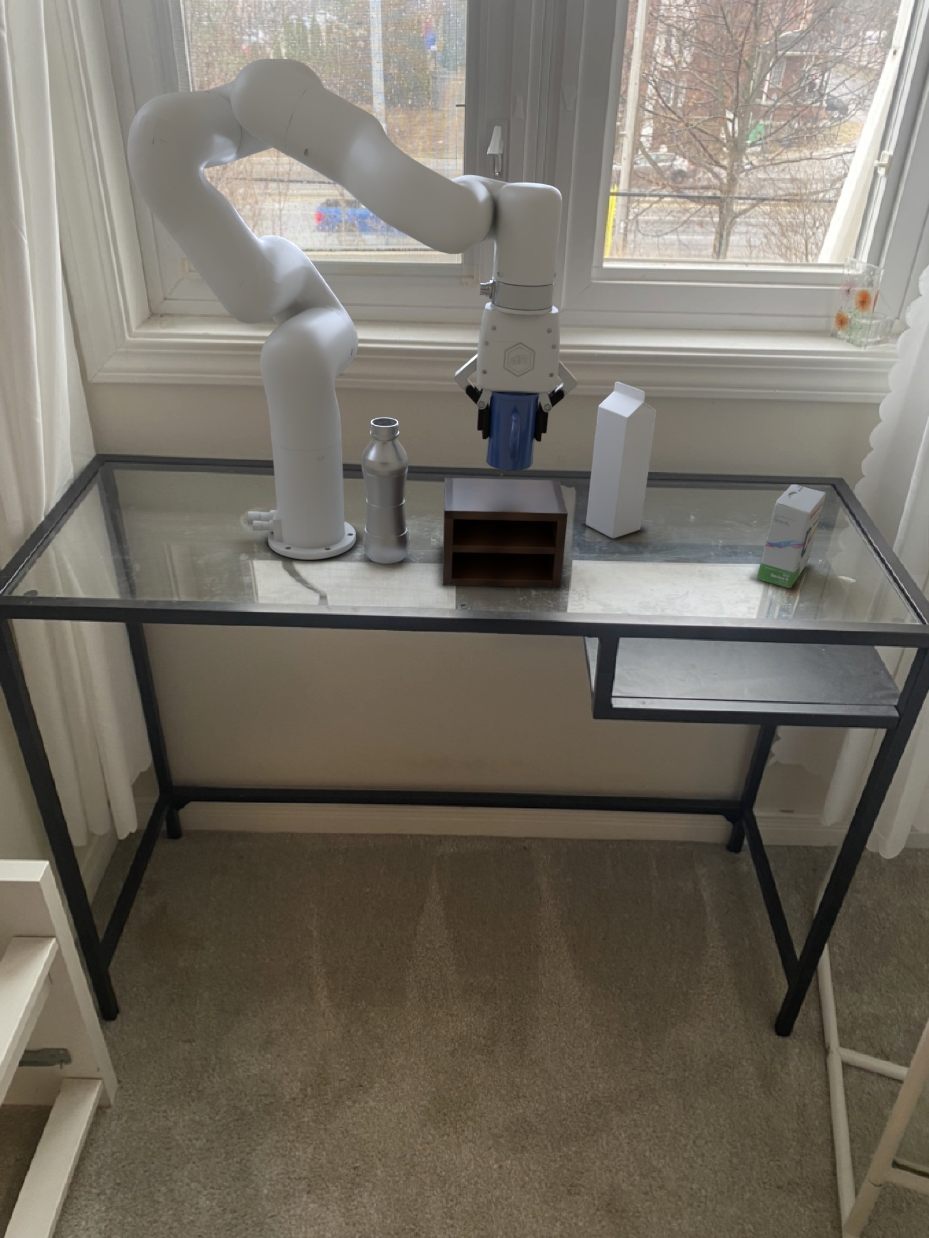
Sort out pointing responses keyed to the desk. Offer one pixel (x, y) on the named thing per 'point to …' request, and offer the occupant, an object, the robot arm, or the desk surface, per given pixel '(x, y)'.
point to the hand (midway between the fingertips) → (511, 435)
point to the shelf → (503, 532)
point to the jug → (511, 430)
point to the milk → (620, 462)
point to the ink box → (791, 535)
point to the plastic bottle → (385, 493)
